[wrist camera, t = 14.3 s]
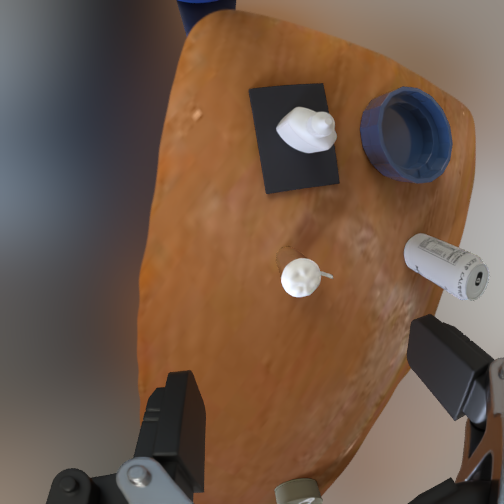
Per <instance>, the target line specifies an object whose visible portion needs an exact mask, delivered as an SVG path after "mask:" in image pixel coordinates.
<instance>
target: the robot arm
mask: <svg viewBox="0 0 504 504" xmlns="http://www.w3.org/2000/svg"><path fill="white" fill-rule="evenodd" d="M407 360H408V363H409V365H410V367H411V369H412V370H413V371H414V372H415V373H416V374H417V375H418V377H419V378H420V379H421V380H422V382H424V384H425V385H426V386H427V387H428V389H429V390H430V391H431V392H432V394H433V395H434V396H435V397H436V398H437V400H438V401H439V402H440V403H441V404H442V406H443V407H444V408H445V409H446V410H447V412H448V413H449V414H450V416H451V417H452V418H453V419H454V421H456V420H458V419H459V418H461V417H463V416H464V415H466V416H467V417H468V419H467V422H466V427H465V442H464V452H463V460H462V465H461V469H460V471H459V473H458V476H457V478H456V481H455V483H454V481H453V480H452V478H449V479H447V480H445V481H444V482H442V483H440V484H438V485H437V486H435V487H433V488H431V489H429V490H427V491H425V492H424V493H422V494H420V495H418V496H417V497H416V498H415V499H414V500H412V501H411V502H409V503H408V504H504V358H498V359H496V360H494V359H493V358H492V357H491V356H490V355H488V354H487V353H486V352H485V351H484V350H483V349H481V348H480V347H479V346H478V345H476V344H475V343H474V342H473V341H470V339H469V338H468V337H467V336H466V335H463V333H462V332H461V331H459V330H458V329H457V328H455V327H454V326H451V325H449V324H446V323H444V322H443V323H442V322H441V321H439V320H438V319H437V318H436V317H434V316H433V315H431V314H428V315H426V316H423V317H420V318H417V319H414V320H413V321H412V322H411V326H410V334H409V342H408V349H407ZM143 420H144V421H142V425H141V429H140V433H139V437H138V442H137V445H136V449H135V454H134V457H133V458H132V459H130V460H128V461H126V462H124V463H123V464H122V465H121V466H120V468H119V469H118V471H117V473H115V474H110V475H105V476H99V477H93V478H90V477H89V476H88V475H87V474H86V473H85V472H83V471H82V470H79V469H75V468H71V469H66V470H63V471H61V472H60V473H59V474H57V476H56V477H55V478H54V480H53V482H52V485H51V489H50V492H49V495H48V499H47V502H46V504H194V503H193V493H200V492H204V461H205V427H206V412H205V406H204V402H203V399H202V397H201V394H200V391H199V389H198V386H197V383H196V381H195V378H194V375H193V373H192V371H191V370H187V371H178V372H170V373H169V374H168V377H167V381H166V386H165V387H162V388H156V390H155V391H154V392H153V393H152V395H151V396H150V397H149V399H148V402H147V406H146V412H145V414H144V418H143Z"/></svg>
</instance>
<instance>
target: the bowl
mask: <svg viewBox="0 0 504 504" xmlns="http://www.w3.org/2000/svg"><path fill="white" fill-rule="evenodd" d="M360 133H361V139H362V146H363V149H364V150H365V152H366V154H367V156H368V158H369V160H370V162H371V164H372V165H373V166H374V167H375V168H376V169H377V170H378V171H379V172H380V173H381V174H382V175H384V176H386V177H389V178H391V179H394V180H396V181H403V182H410V183H427V182H432V181H433V180H435V179H436V178H437V177H439V176H440V175H442V174H443V172H444V170H445V169H446V167H447V165H448V163H449V161H450V157H451V151H452V144H453V143H452V136H451V129H450V125H449V122H448V120H447V118H446V116H445V113H444V111H443V109H442V108H441V107H440V106H439V104H438V103H437V102H436V101H435V100H434V99H433V97H432V96H430V95H429V94H427V93H425V92H423V91H422V90H420V89H418V88H412V87H400V88H398V89H395V90H393V91H390V92H388V93H385V94H383V95H381V96H379V97H377V98H375V99H372V100H371V102H370V103H369V105H368V106H367V107H366V109H365V110H364V112H363V115H362V120H361V125H360Z"/></svg>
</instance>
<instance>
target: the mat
mask: <svg viewBox="0 0 504 504" xmlns="http://www.w3.org/2000/svg"><path fill="white" fill-rule="evenodd" d="M249 96H250V102H251V107H252V113H253V119H254V125H255V130H256V136H257V142H258V148H259V154H260V160H261V166H262V172H263V178H264V185H265V191H266V194H270V193H276V192H283V191H289V190H296V189H303V188H310V187H317V186H325V185H332V184H339V183H340V182H339V174H338V167H337V160H336V153H335V146H334V144H333V145H332V147H331V148H330V149H328V150H325V151H320V152H314V153H305V152H301V151H299V150H296V149H295V148H293V147H291V146H290V145H288V144H287V143H286V142H285V141H284V140H283V139H282V138H281V137H280V135H279V134H278V132H277V130H276V128H277V125H278V124H279V123H280V121H281V120H282V119H283V118H284V117H285V116H286V115H287V114H288V113H289V112H291V111H292V110H293V109H294V108H296V107H303V108H307V109H310V110H313V111H315V112H326V113H328V114H329V111H328V105H327V100H326V95H325V90H324V85H323V83H320V84H298V85H283V86H272V87H262V88H253V89H249Z"/></svg>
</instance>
